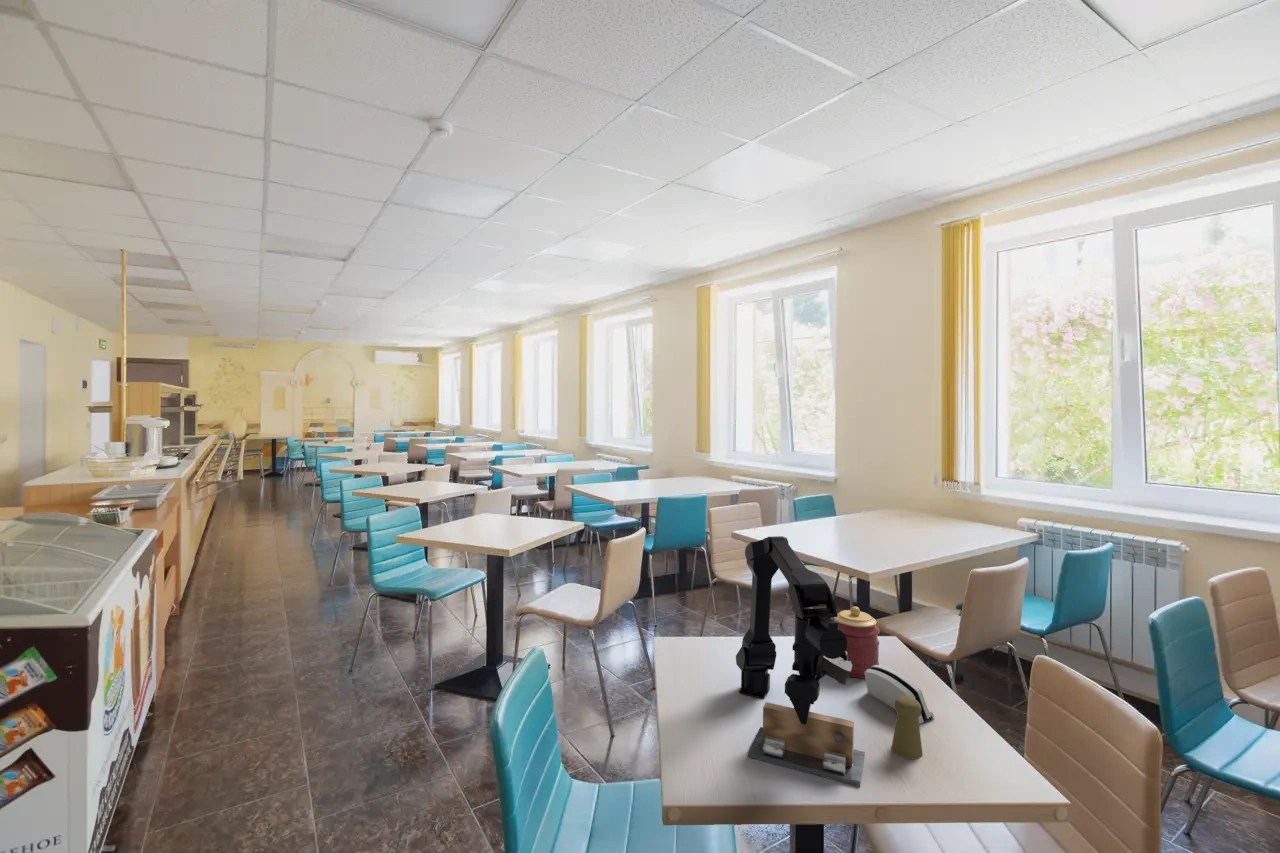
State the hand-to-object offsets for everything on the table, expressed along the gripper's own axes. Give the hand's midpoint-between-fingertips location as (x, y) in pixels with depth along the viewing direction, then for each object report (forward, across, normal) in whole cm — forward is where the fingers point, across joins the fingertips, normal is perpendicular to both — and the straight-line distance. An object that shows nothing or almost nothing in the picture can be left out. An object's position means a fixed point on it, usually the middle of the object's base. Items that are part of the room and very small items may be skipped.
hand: (807, 713), depth 122 cm
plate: (+9, 0, 0) cm, 9 cm away
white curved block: (+10, +32, -16) cm, 37 cm away
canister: (+9, +50, -5) cm, 51 cm away
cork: (+9, +12, -19) cm, 24 cm away
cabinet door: (+8, 0, 0) cm, 8 cm away
